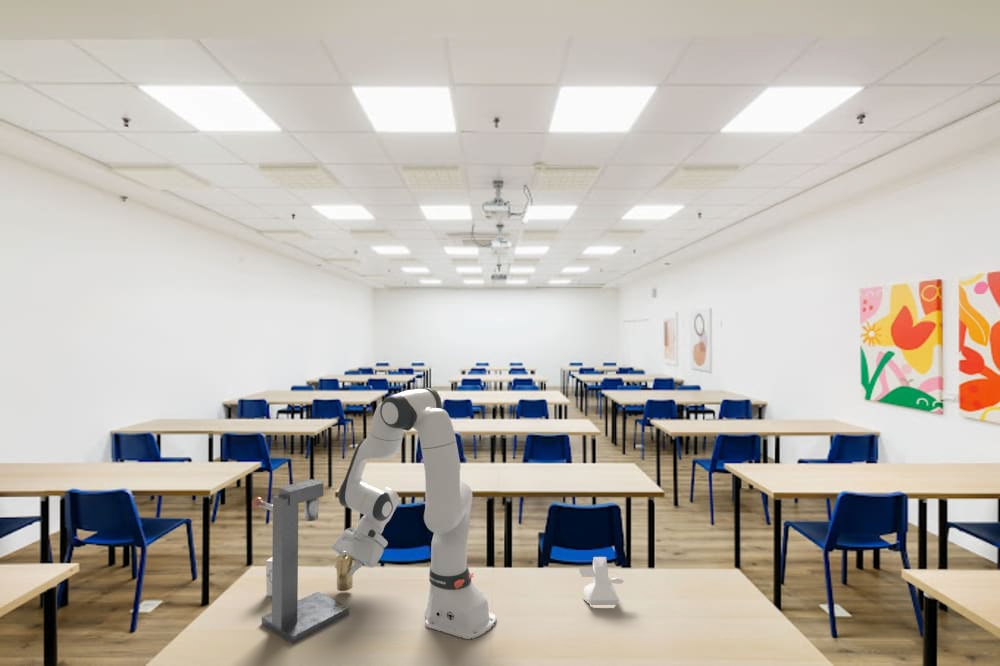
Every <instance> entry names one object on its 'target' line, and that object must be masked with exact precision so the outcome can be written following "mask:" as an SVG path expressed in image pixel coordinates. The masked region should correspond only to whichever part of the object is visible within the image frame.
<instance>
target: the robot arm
mask: <svg viewBox="0 0 1000 666" xmlns="http://www.w3.org/2000/svg"><path fill="white" fill-rule="evenodd" d="M412 429H415V431H416V432H417V434H418V437H419V438H418V439H419V442H420V449H421V455H422V461H423V467H424V474H425V476H424V477H425V483H424V484H425V485H424V486H425V487H424V488H425V491H424V492H425V493H424V495H425V505H424V507H425V508H424V513H423V521H424V524H425V526H426V527H427V529H428V530H429V531H430V532H432V533H433V536H432V540H431V546H430V549H431V550H430V551H431V552H430V560H431V561H430V567H429V574H428V577H429V579H428V580H429V582H430V587H429V593H428V594H429V595H428V602H427V606H426V609H425V611H424V617H425V627H426V628H429V629H432V630H435V631H437V632H441V631H442V633H446V634H449V635H451V634H452V636H456V637H458V638H461V637H462V639H465V640H471V638H472V639H475V638H478V637H480V636H482V635H484V634H485V633H486V631H487V632H488V631H490V630H491V629H492V628H493V627H494V626H495V624H496V623H495V622H497V615H496V614H494V613H492V611H489V603H488V602H489V601H488V600H487V598H486V597H485V596H484V594H483V592H482V591H481V590H479V588H478V587H477V586H476V585H475V583H473V581H472V578H474V577H475V576H474V574H475V573H474V572H472V573H471V574H470V570H469V567H468V562H467V561H468V557H467V556H468V537H469V530H470V523H471V512H472V502H473V492H472V488H471V487H470V486H469V485H468V484H467V483H466V482H464V481H462V480H460V479H461V477H460V475H461V460H460V453H459V449H458V444H457V437H456V434H455V429H454V426H453V423H452V420H451V417H450V415H449V413H448V412H447V410H446V409H444V408H442V398H441V396H440V395H439V393H438V392H437V391H436V390H435V389H433V388H430V387H421V388H414V389H407V390H403V391H401V392H398V393H393V394H391V395H389V396H387V397H386V398H385V399H383V401H382V402H379V404H378V405H377V406H376V409H375V410H374V413H373V416H372V420H371V423H370V429H369V432H368V435H367V437H366V438H363V439H362V440H360V441H359V443H358V445H357V446H356V448H355V451H354V453H353V456H352V458H351V460H350V463H349V466H348V469H347V472H346V475H345V478H344V479H343V481H342V484H340V487H339V488H338V492H337V497H338V501H339V504H340V505H341V506H342V507H345V508H347V509H351V510H353V511H356V512H357V513H359V514H361V515H363V516H362V517H361V518H360V519H359V521H358V522H357V524H356V526H355V527H354V528H353V527H349V528H346V529H345V530H344V531H342V533H341V534H340V535H339V536H338V537H337V539H336V540H335V541H334V543H333V544H332V547H331V549H332V551H333V552H335V553H336V554H338V556H340V555H342V551H346V555H349V556H351V557H352V561H355V562H354V564H353V565H352V568H349V569H348V571H347V574H349V575H351V576H352V577H353V576H354V575H355V572H357V571H358V570H359V569H361V567H363V565H364V566H366V567H369V568H371V569H372V568H374V567H376V566H377V564H378V563H379V561H380V559H381V558H382V555H383V554H384V551H385V550H384V549H385V548H386V547H387V546H388V544H389V543H388V541H387V539H385V538H384V536H383V535H382V533H383V531H384V528H385V527H386V525H387V523H389V521H390V520H391V519H392V517H393V514H394V512H395V511H396V509H397V507H398V504H399V502H400V497H399V495H398V492H396V491H395V489H392V488H390V487H387V486H385V487H382V488H379V487H377V486H375V485H372V484H369V483H367V482H366V481H365V480H364V479H363V478H362V475H363V473H364V470H365V469H366V466H367V462H368V460H384V459H388V458H391V457H392V456H394V455H396V454H397V453H398V452H399V450H400V448H401V447H402V446H401V445H402V443H403V437H404V431H407V432H408V431H411V430H412ZM334 568H335V569H336V570H337V563H336V564H335V565H334ZM494 623H495V624H494ZM492 626H493V627H492ZM491 627H492V628H491Z"/></svg>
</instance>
